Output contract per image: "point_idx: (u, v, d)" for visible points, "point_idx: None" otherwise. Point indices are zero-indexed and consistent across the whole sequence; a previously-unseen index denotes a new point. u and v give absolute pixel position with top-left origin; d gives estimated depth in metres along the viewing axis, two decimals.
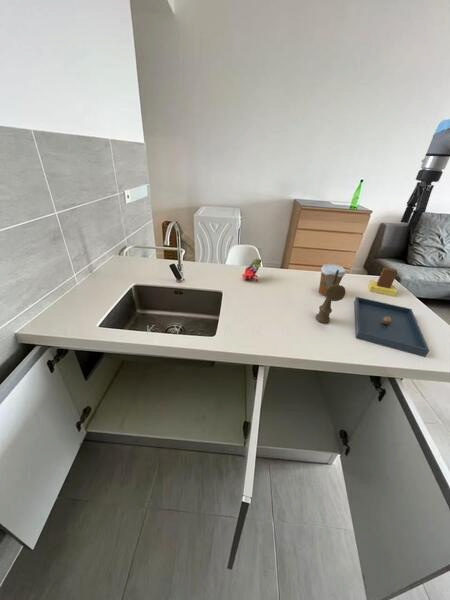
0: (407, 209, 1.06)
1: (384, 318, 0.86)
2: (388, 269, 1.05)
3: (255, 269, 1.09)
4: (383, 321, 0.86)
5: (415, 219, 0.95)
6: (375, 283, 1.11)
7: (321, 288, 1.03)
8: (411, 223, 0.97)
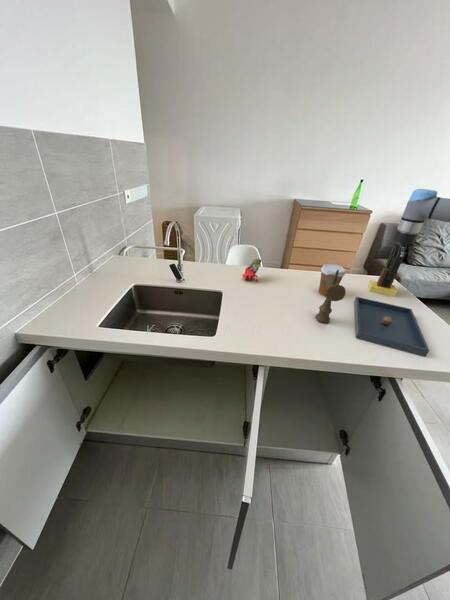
0: None
1: (384, 318, 0.86)
2: (388, 269, 1.05)
3: (255, 269, 1.09)
4: (383, 321, 0.86)
5: (388, 278, 1.04)
6: (375, 283, 1.11)
7: (321, 288, 1.03)
8: (385, 280, 1.06)
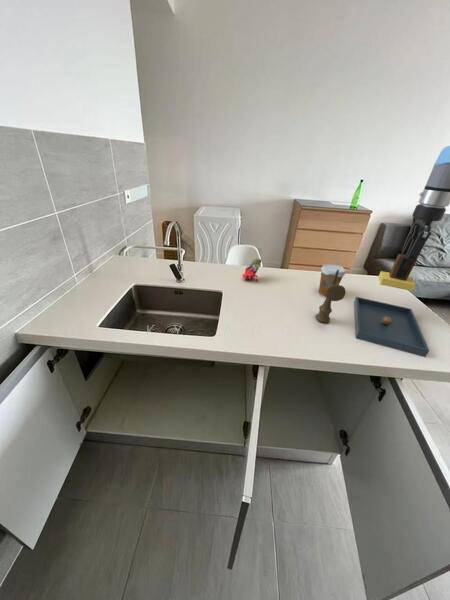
0: None
1: (384, 318, 0.86)
2: (404, 256, 0.83)
3: (255, 269, 1.09)
4: (383, 321, 0.86)
5: (405, 267, 0.81)
6: (387, 274, 0.89)
7: (321, 288, 1.03)
8: (401, 270, 0.83)
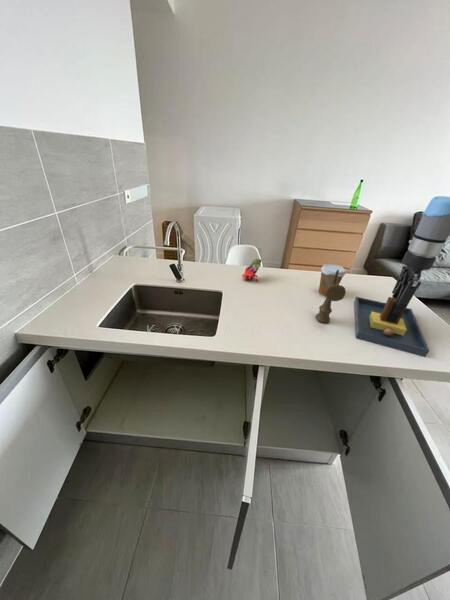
0: None
1: None
2: (395, 300, 0.80)
3: (255, 269, 1.09)
4: (386, 328, 0.81)
5: (395, 312, 0.79)
6: (378, 316, 0.86)
7: (321, 288, 1.03)
8: (391, 314, 0.81)
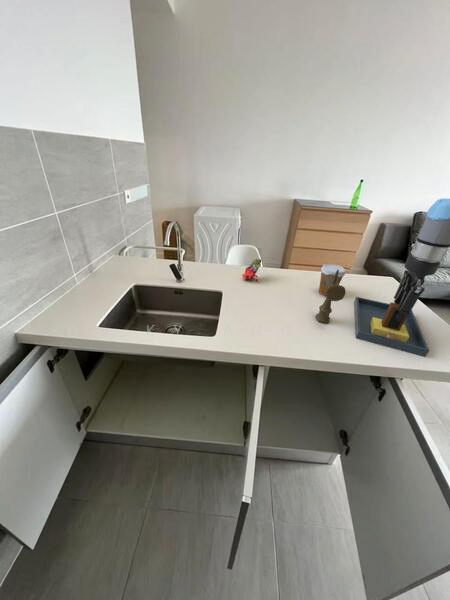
0: None
1: (387, 337, 0.78)
2: (397, 306, 0.77)
3: (255, 269, 1.09)
4: None
5: (397, 318, 0.76)
6: (379, 322, 0.83)
7: (321, 288, 1.03)
8: (393, 321, 0.78)
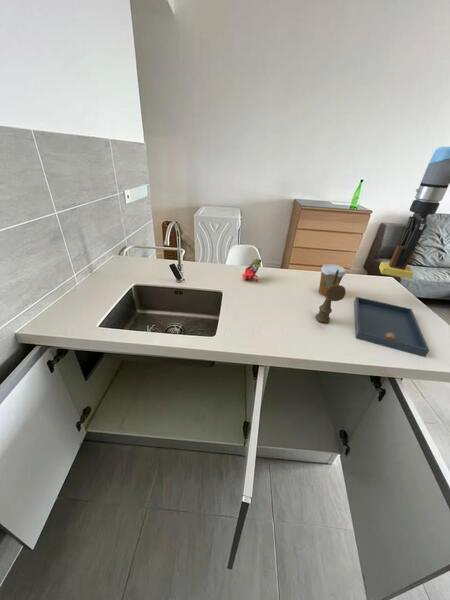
0: None
1: (387, 336, 0.78)
2: (403, 247, 0.91)
3: (255, 269, 1.09)
4: None
5: (404, 257, 0.90)
6: (387, 264, 0.97)
7: (321, 288, 1.03)
8: (400, 260, 0.92)
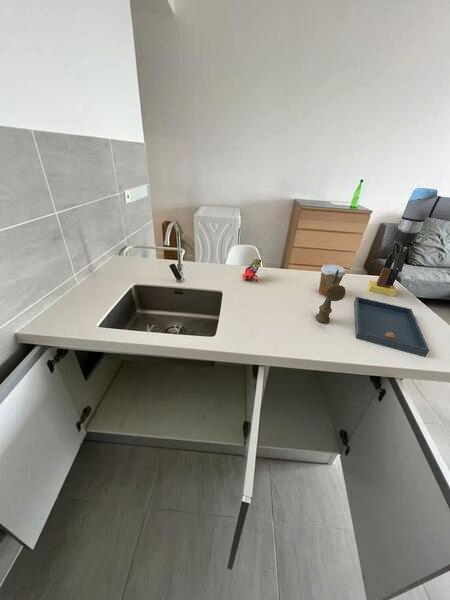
0: (387, 261, 1.10)
1: (387, 334, 0.78)
2: (388, 269, 1.05)
3: (255, 269, 1.09)
4: (386, 337, 0.79)
5: (392, 277, 0.99)
6: (375, 283, 1.11)
7: (321, 288, 1.03)
8: (389, 279, 1.01)
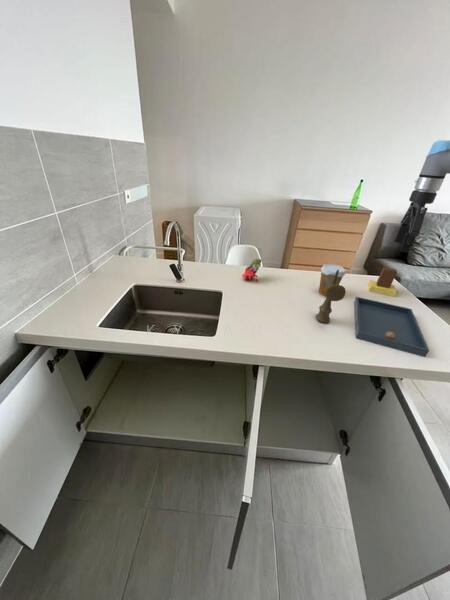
0: (401, 229, 1.02)
1: (387, 333, 0.78)
2: (388, 269, 1.05)
3: (255, 269, 1.09)
4: (386, 337, 0.79)
5: (408, 242, 0.91)
6: (375, 283, 1.11)
7: (321, 288, 1.03)
8: (405, 245, 0.93)
